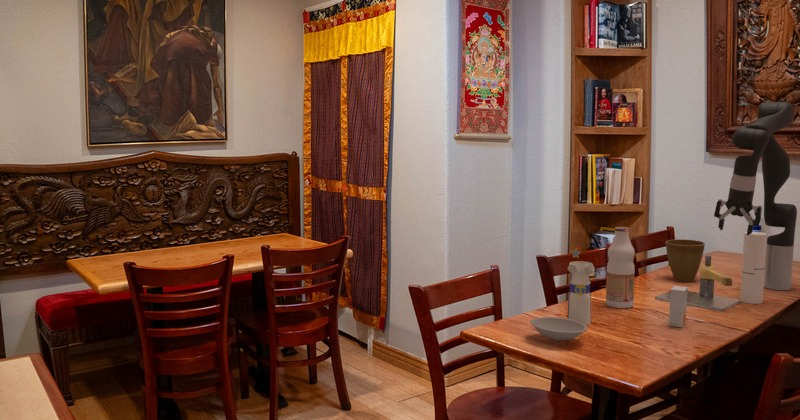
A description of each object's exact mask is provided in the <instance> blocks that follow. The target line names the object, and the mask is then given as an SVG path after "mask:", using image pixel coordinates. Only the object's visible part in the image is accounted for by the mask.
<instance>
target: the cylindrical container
mask: <svg viewBox="0 0 800 420" xmlns="http://www.w3.org/2000/svg"><path fill="white" fill-rule="evenodd" d="M767 237H768V236H767V233H766V232H759V231H752V233H751V234H749V235H747V231H744V234H743V249H742V264H741V265H742V267H741V284H740V285H741V287H740V300H741V302H742V303H745V304H751V305H753V304H754V305H759V304H760V305H761V304H763V302H764V300H763V299H764V288H765V287H764V282H765V266H766V249H767Z"/></svg>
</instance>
